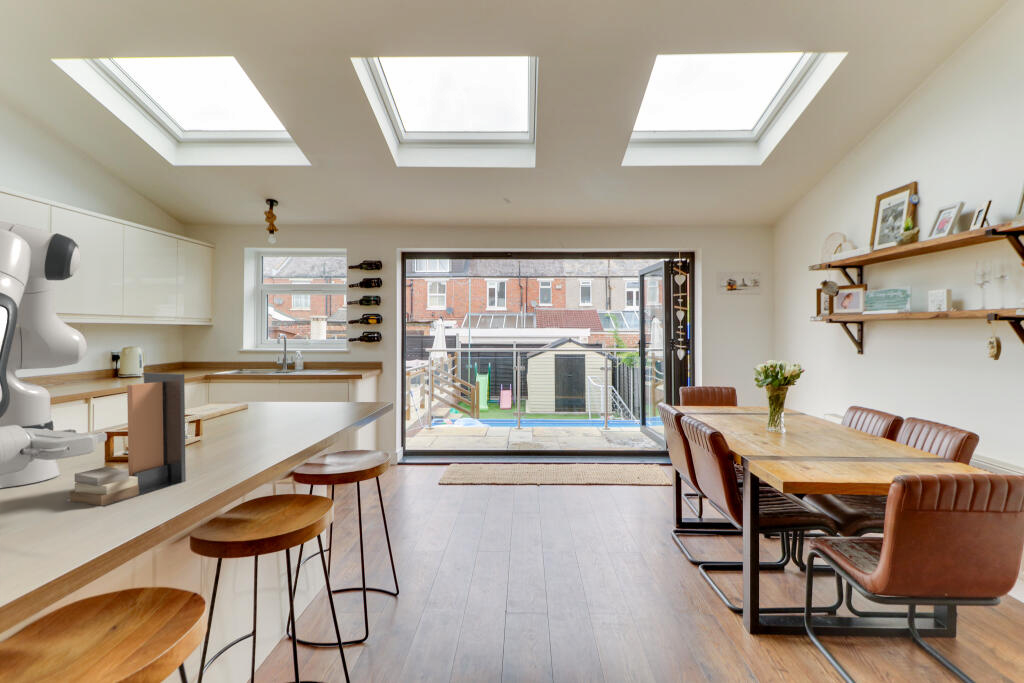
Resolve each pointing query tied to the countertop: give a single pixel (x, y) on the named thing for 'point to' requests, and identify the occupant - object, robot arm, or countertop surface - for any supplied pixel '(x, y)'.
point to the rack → (166, 438)
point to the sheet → (145, 426)
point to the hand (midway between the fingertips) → (89, 434)
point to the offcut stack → (104, 486)
